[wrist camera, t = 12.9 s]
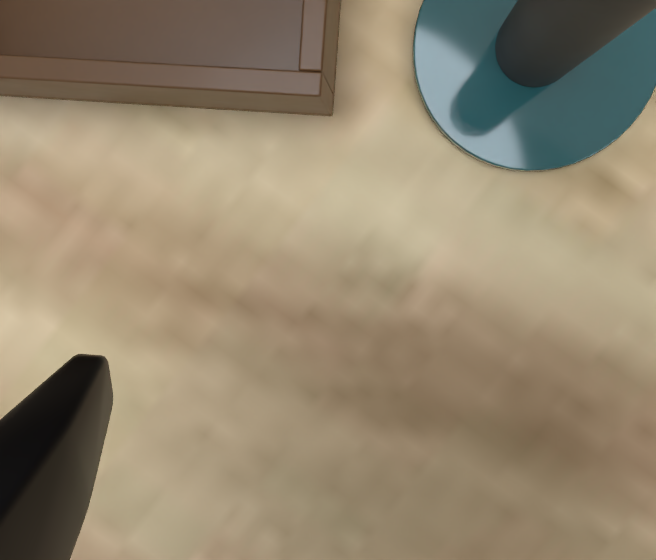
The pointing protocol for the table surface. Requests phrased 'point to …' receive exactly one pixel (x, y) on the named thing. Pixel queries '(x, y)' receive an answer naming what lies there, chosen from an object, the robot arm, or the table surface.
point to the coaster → (526, 89)
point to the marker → (560, 35)
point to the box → (173, 52)
